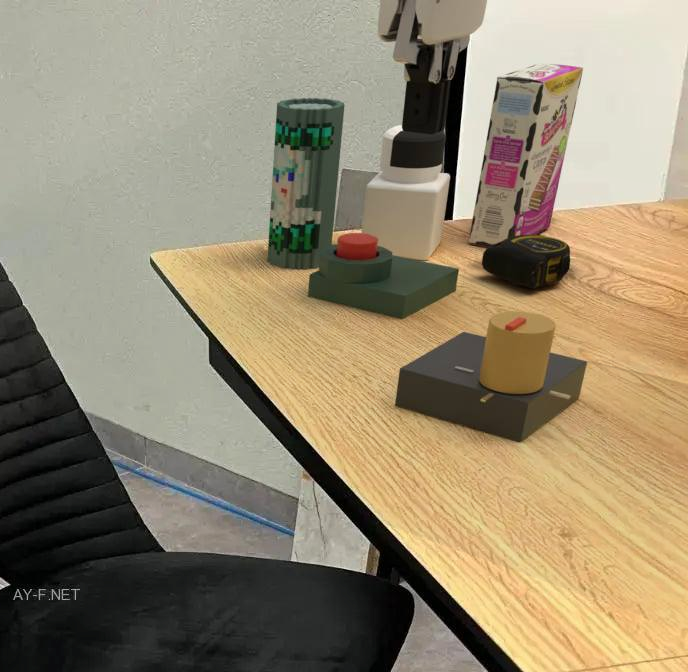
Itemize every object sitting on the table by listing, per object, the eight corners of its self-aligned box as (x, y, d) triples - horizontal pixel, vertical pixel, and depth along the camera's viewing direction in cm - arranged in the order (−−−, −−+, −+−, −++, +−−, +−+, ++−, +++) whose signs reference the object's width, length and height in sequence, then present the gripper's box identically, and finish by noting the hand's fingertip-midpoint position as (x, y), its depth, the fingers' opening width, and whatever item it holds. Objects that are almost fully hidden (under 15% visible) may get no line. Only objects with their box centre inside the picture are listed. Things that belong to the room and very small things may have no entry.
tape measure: (474, 278, 111) (481, 239, 109) (527, 267, 113) (534, 229, 111) (527, 298, 106) (534, 258, 104) (581, 285, 108) (589, 246, 106)
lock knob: (495, 366, 84) (507, 302, 82) (553, 380, 82) (567, 315, 79) (467, 384, 82) (478, 319, 79) (526, 399, 79) (540, 333, 77)
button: (383, 256, 106) (385, 237, 105) (362, 265, 103) (364, 246, 102) (349, 249, 108) (351, 230, 107) (328, 258, 106) (330, 239, 105)
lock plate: (602, 404, 86) (612, 364, 84) (533, 458, 78) (542, 415, 77) (457, 367, 92) (463, 329, 91) (382, 413, 85) (387, 373, 83)
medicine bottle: (441, 243, 121) (458, 122, 114) (428, 262, 116) (445, 136, 109) (374, 236, 124) (387, 118, 117) (358, 254, 118) (371, 132, 112)
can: (256, 260, 117) (265, 103, 109) (297, 248, 120) (309, 95, 112) (299, 273, 113) (312, 112, 105) (341, 261, 116) (356, 103, 108)
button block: (455, 291, 108) (462, 249, 106) (400, 320, 102) (406, 276, 99) (361, 271, 114) (365, 230, 111) (303, 297, 107) (307, 254, 105)
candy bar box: (512, 253, 117) (544, 80, 108) (466, 245, 120) (493, 76, 111) (553, 228, 124) (586, 64, 115) (508, 221, 127) (537, 60, 118)
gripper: (453, -125, 94) (425, 113, 104) (358, -118, 85) (337, 141, 95) (541, -127, 90) (503, 121, 100) (450, -121, 81) (419, 152, 91)
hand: (422, 130), depth 97 cm, fingers closed
